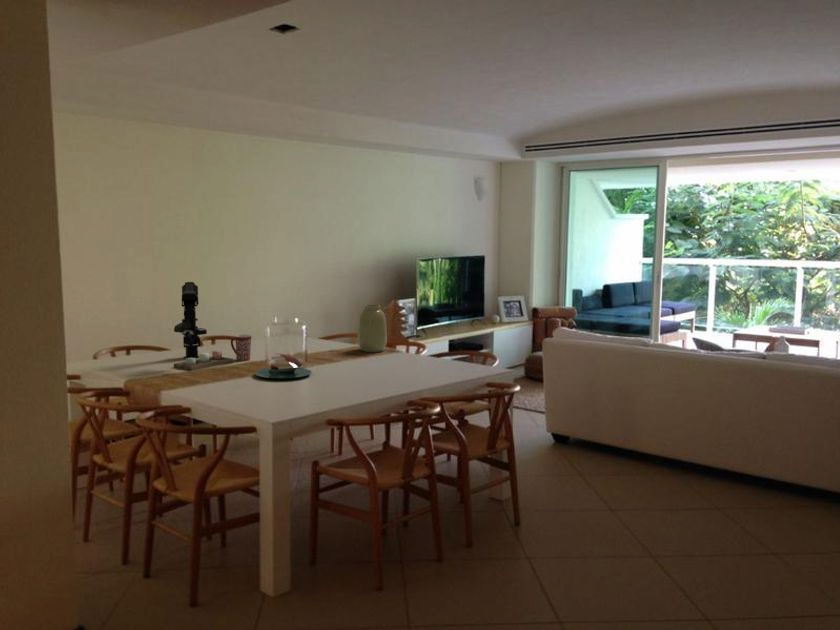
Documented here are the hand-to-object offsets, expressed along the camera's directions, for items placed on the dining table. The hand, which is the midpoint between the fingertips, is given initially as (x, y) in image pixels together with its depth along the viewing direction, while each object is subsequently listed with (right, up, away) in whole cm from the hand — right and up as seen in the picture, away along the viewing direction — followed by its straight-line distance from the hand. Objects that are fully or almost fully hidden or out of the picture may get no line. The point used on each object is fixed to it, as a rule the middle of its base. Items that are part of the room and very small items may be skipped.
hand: (190, 346), depth 381 cm
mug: (+20, -8, +25) cm, 33 cm away
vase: (+90, -5, +61) cm, 109 cm away
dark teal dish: (+51, -14, -16) cm, 55 cm away
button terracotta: (+9, -7, +15) cm, 19 cm away
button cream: (+5, -8, +8) cm, 12 cm away
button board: (+5, -10, +8) cm, 14 cm away
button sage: (0, -10, +1) cm, 10 cm away
